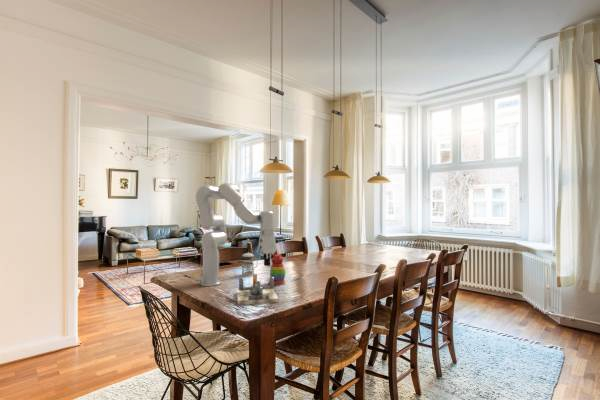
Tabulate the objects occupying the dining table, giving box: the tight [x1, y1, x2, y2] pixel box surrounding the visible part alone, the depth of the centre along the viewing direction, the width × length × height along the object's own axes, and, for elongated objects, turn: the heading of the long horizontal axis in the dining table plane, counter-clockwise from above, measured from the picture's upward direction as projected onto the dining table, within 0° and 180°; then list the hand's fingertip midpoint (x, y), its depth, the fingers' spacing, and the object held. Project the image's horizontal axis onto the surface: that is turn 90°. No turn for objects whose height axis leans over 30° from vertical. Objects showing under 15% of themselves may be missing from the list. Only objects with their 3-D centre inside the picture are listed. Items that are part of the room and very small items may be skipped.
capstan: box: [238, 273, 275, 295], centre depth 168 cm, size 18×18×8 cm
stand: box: [235, 289, 280, 306], centre depth 167 cm, size 20×21×4 cm
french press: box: [240, 238, 259, 278], centre depth 218 cm, size 10×12×25 cm
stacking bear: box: [267, 253, 286, 286], centre depth 199 cm, size 11×10×18 cm
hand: (267, 265), depth 180 cm, fingers closed
